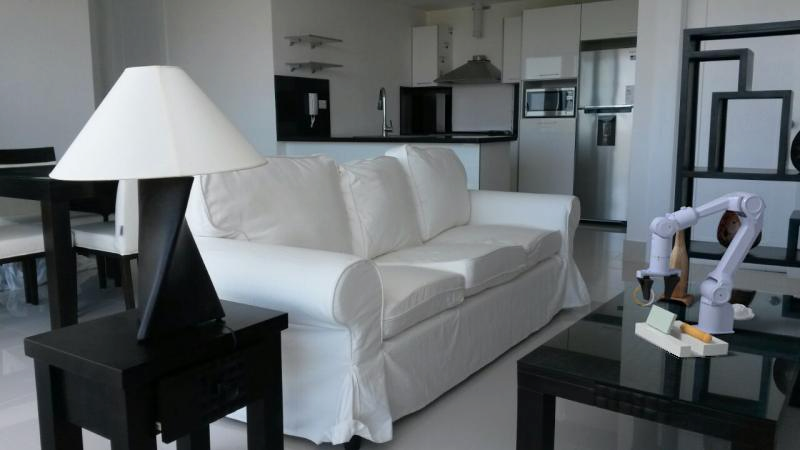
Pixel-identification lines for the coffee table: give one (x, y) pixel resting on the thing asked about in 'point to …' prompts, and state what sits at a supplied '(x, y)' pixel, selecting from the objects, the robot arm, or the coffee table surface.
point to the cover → (661, 319)
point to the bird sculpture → (680, 262)
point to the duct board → (681, 341)
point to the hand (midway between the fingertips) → (656, 299)
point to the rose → (742, 312)
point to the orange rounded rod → (696, 332)
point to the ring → (643, 303)
